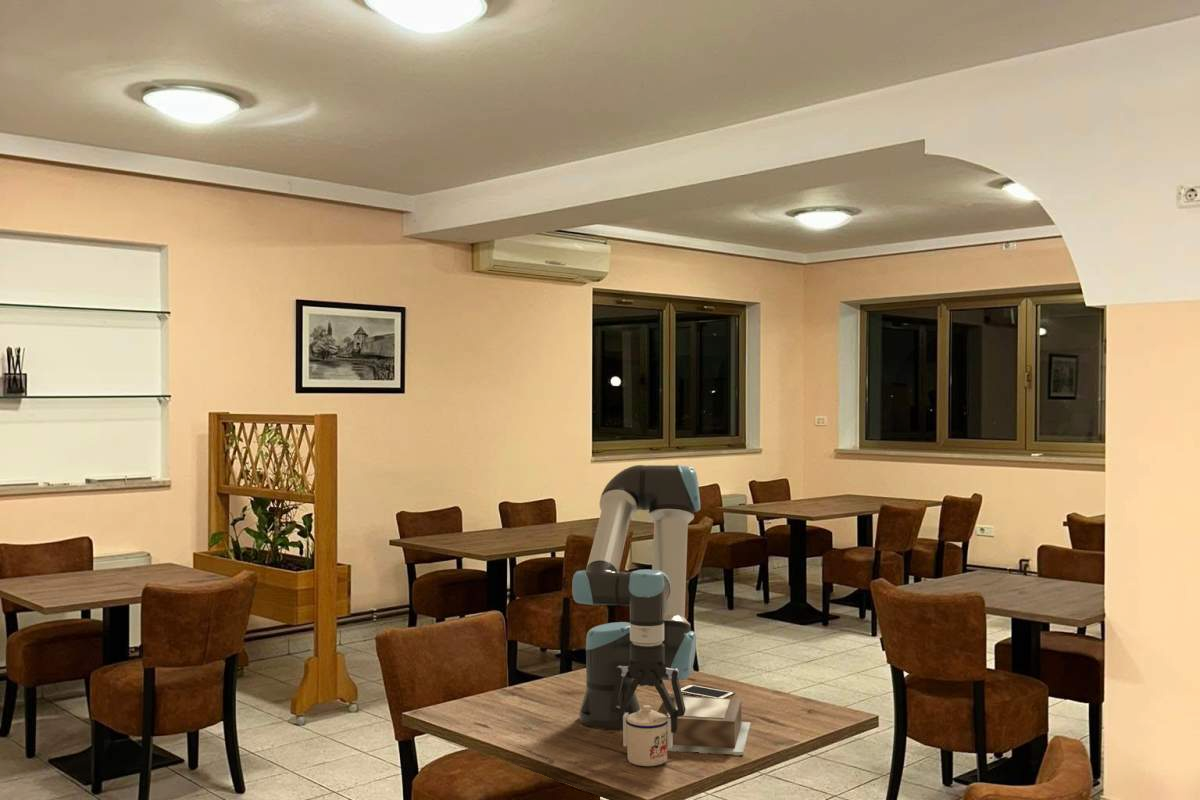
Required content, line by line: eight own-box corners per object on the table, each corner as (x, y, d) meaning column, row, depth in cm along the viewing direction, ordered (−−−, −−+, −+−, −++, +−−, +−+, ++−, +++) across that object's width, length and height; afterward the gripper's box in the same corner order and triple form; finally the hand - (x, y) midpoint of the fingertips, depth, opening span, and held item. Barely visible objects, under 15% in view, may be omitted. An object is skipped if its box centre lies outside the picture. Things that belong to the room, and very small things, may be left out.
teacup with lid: (656, 769, 221) (655, 714, 221) (618, 762, 225) (618, 708, 225) (681, 752, 231) (680, 700, 231) (645, 746, 236) (644, 694, 236)
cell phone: (689, 687, 288) (689, 683, 288) (736, 696, 279) (736, 692, 279) (674, 693, 282) (673, 690, 282) (721, 702, 273) (721, 699, 273)
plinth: (644, 749, 235) (644, 718, 235) (659, 720, 257) (659, 691, 257) (743, 755, 231) (742, 723, 231) (750, 725, 252) (750, 696, 252)
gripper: (594, 644, 227) (595, 748, 227) (694, 648, 222) (695, 754, 222) (601, 636, 234) (602, 737, 234) (698, 640, 230) (699, 743, 230)
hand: (647, 745), depth 228 cm, fingers closed on teacup with lid, 9 cm apart
